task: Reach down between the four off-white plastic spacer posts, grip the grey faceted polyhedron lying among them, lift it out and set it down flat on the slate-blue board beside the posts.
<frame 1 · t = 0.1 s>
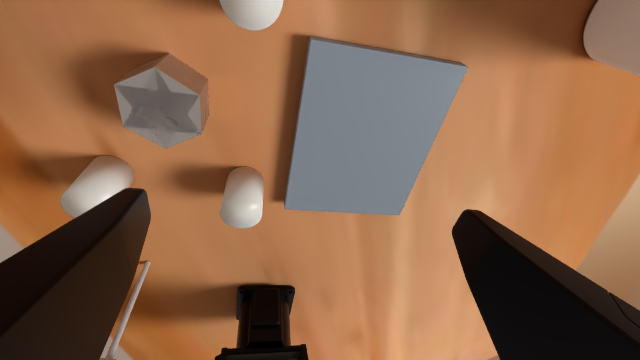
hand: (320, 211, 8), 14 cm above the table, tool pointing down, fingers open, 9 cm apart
board: (362, 140, 24), on the table
can: (624, 11, 21), on the table
grey faceted polyhedron: (173, 92, 20), on the table
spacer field: (173, 93, 20), on the table
lollipop: (148, 260, 30), on the table
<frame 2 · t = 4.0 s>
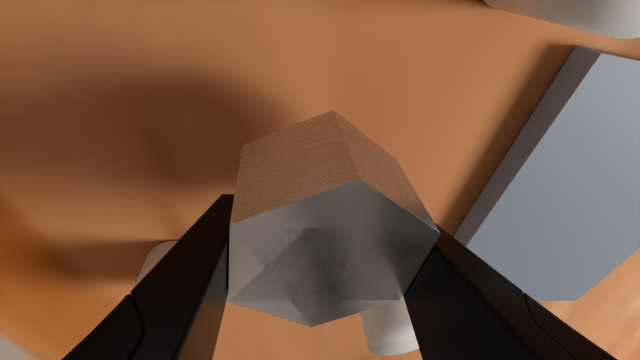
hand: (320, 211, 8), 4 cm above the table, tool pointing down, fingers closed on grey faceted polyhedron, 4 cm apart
board: (568, 206, 15), on the table
grey faceted polyhedron: (315, 188, 9), point 3 cm above the table, touching gripper
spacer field: (308, 146, 11), on the table
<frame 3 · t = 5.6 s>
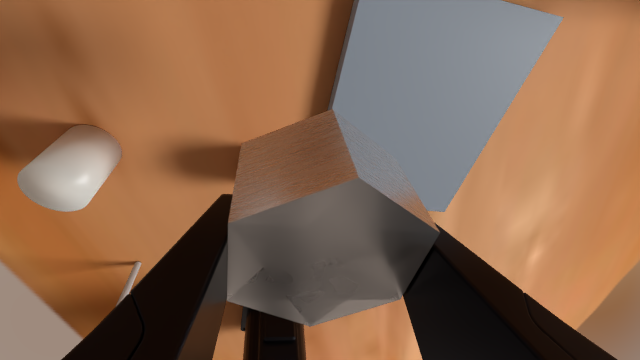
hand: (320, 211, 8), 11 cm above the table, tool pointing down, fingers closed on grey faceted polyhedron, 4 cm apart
board: (411, 116, 19), on the table
grey faceted polyhedron: (314, 187, 9), point 10 cm above the table, touching gripper
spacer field: (175, 40, 15), on the table
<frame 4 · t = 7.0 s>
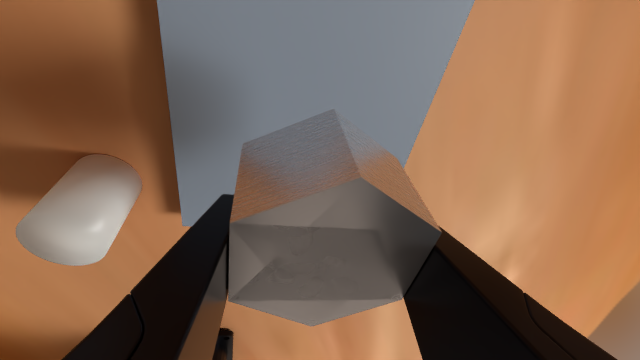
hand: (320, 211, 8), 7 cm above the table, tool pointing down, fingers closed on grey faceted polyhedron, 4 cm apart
board: (302, 108, 14), on the table
grey faceted polyhedron: (316, 187, 9), point 6 cm above the table, touching gripper
when the fingers open (3 cm above the table, at t = 8.3 s): grey faceted polyhedron drops 1 cm, resting on board.
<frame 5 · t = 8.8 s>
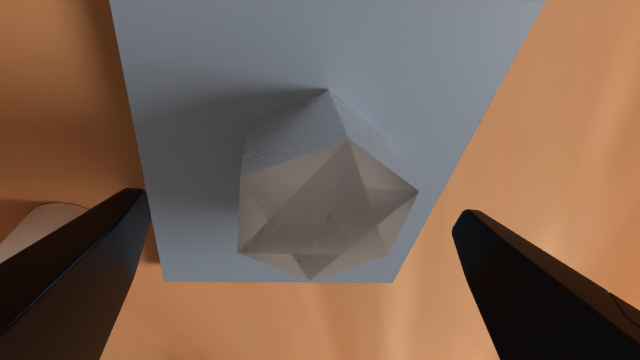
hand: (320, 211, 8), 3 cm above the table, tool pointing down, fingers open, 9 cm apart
board: (309, 147, 11), on the table
grey faceted polyhedron: (313, 161, 10), point 1 cm above the table, touching board
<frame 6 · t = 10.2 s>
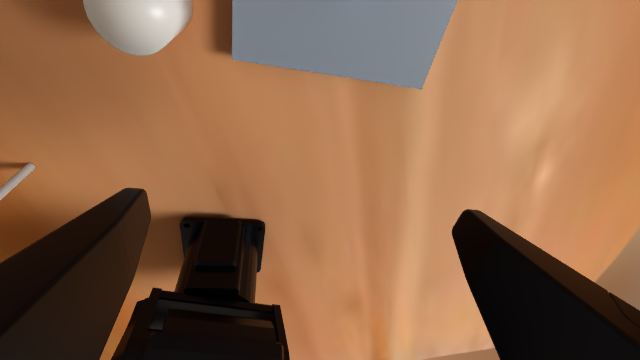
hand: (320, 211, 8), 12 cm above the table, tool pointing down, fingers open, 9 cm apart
lollipop: (33, 164, 19), on the table
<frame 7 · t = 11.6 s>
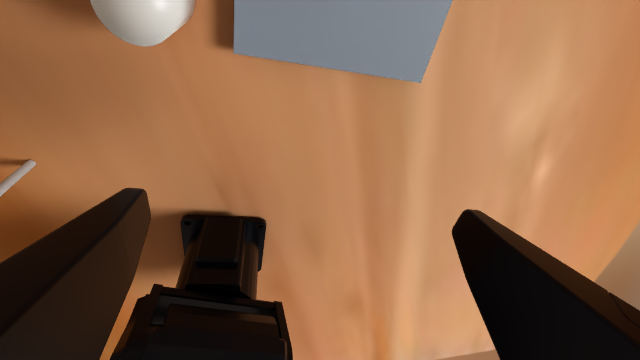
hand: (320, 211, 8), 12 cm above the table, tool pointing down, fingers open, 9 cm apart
lollipop: (33, 161, 19), on the table
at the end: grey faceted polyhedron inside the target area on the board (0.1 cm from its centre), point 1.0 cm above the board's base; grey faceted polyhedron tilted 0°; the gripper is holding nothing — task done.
